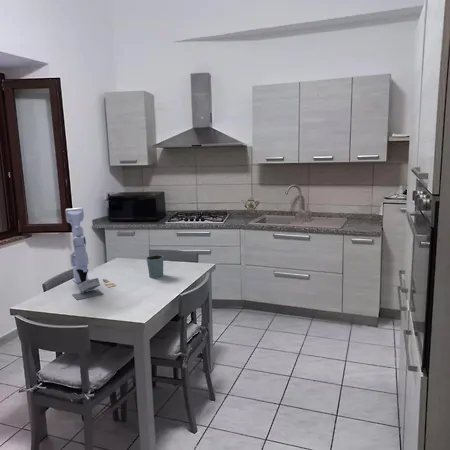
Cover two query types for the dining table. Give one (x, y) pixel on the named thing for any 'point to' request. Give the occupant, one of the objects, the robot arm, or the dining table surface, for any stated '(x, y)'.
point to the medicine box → (89, 285)
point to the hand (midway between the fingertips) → (83, 281)
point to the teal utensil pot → (155, 266)
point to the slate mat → (87, 294)
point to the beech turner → (108, 283)
